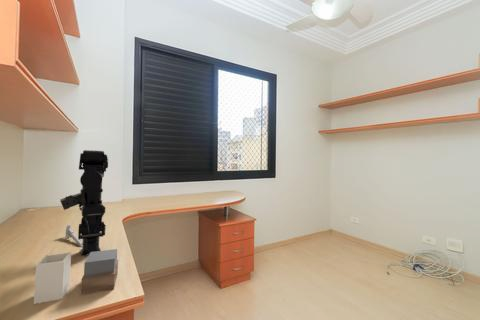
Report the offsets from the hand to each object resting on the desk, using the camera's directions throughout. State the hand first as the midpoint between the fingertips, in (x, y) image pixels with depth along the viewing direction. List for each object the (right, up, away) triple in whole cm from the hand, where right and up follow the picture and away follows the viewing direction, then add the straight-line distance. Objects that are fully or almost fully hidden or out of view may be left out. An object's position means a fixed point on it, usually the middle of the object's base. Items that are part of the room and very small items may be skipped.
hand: (90, 230), depth 75 cm
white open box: (+1, -13, -16) cm, 20 cm away
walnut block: (+10, -13, -10) cm, 19 cm away
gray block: (+10, -9, -10) cm, 16 cm away
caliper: (-24, -14, +24) cm, 36 cm away
